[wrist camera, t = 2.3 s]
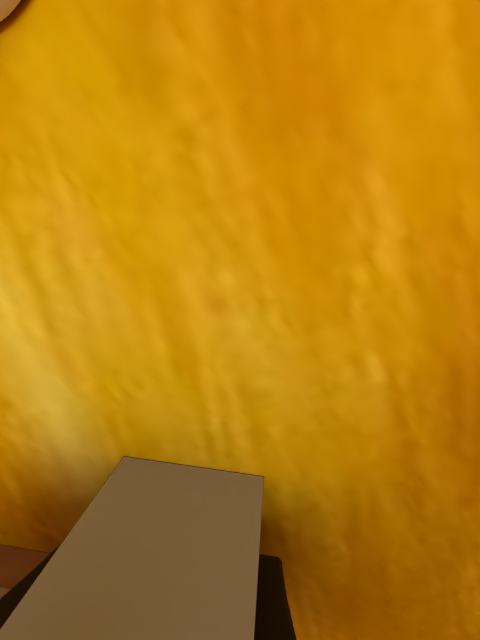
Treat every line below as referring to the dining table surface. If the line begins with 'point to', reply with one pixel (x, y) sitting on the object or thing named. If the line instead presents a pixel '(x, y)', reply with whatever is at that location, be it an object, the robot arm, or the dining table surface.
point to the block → (153, 561)
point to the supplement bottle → (7, 7)
